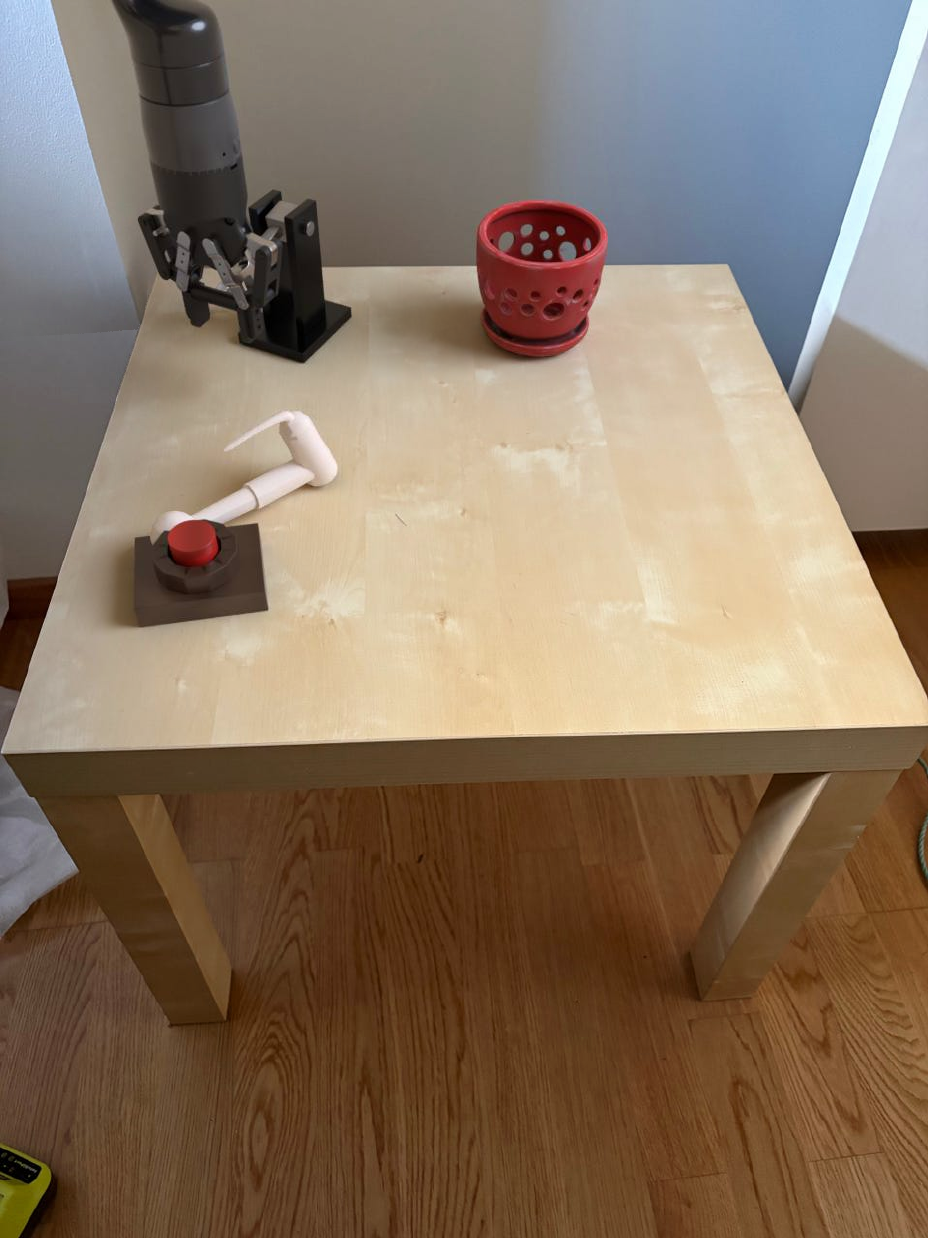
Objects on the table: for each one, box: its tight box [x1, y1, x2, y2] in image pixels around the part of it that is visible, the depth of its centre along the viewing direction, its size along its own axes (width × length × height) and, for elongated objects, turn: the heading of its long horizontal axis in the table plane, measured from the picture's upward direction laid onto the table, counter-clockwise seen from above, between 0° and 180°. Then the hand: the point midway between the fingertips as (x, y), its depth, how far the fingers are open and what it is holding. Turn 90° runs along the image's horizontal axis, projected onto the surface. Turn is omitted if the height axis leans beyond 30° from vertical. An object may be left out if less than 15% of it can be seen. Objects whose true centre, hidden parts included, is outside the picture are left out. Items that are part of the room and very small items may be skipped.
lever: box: [191, 200, 299, 313], centre depth 92 cm, size 14×5×2 cm, turn 155°
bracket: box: [237, 188, 353, 364], centre depth 98 cm, size 10×8×14 cm
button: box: [168, 520, 218, 567], centre depth 75 cm, size 4×4×2 cm
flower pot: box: [475, 199, 609, 357], centre depth 100 cm, size 13×13×12 cm
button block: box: [132, 519, 269, 628], centre depth 77 cm, size 10×8×4 cm
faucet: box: [149, 410, 339, 545], centre depth 81 cm, size 4×18×10 cm, turn 134°
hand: (226, 329), depth 92 cm, fingers closed on lever, 5 cm apart
